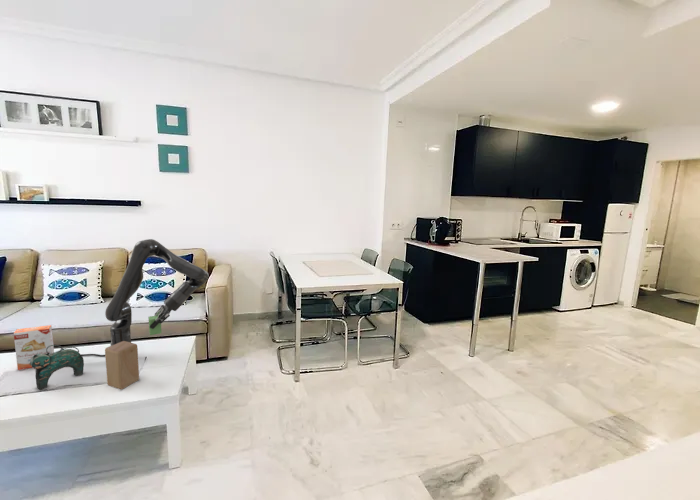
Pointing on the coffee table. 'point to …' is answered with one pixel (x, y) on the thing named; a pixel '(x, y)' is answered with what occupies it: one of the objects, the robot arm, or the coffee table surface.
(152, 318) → the green block
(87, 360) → the coffee table surface
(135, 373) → the wooden block
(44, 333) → the cracker box
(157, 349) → the coffee table surface
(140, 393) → the coffee table surface
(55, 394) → the coffee table surface
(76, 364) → the ceramic cat
